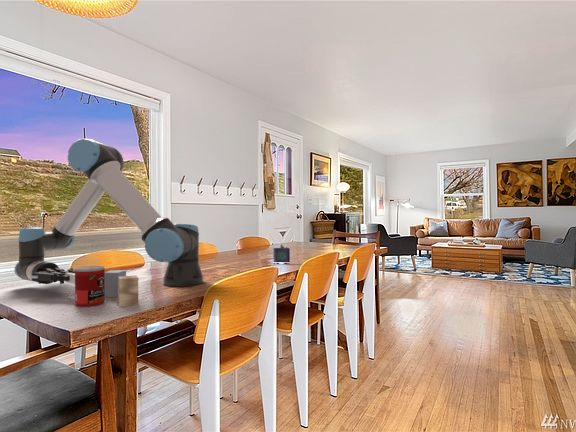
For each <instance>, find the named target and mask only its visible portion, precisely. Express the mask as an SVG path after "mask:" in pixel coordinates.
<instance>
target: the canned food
mask: <svg viewBox="0 0 576 432" xmlns="http://www.w3.org/2000/svg"><path fill="white" fill-rule="evenodd" d="M74 270H75V284H74V303H75V306H77V307H82V308H85V307H86V308H89V307H96V306H100V305H102V304H104V302H105V298H106V297H105V272H106V271H105V266H103V265H86V266H85V265H84V266H79V267H76V268H75V269H74Z"/></svg>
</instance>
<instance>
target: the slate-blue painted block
mask: <svg viewBox="0 0 576 432" xmlns="http://www.w3.org/2000/svg"><path fill="white" fill-rule="evenodd" d="M121 276H127V270H125V269H124V270H123V269H121V270H119V269H117V270H116V269H115V270H114V269H112V270H111V269H110V270H108V271H105V298H118V277H121Z"/></svg>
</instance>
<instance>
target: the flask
mask: <svg viewBox="0 0 576 432" xmlns="http://www.w3.org/2000/svg"><path fill="white" fill-rule="evenodd" d="M272 251H273V253H272V255H273V256H272V257H273V258H272V263H273V262H290V261H291V257H290V256H291V255H290V251H291V249H290V247H288V246H284V245H283V244H280V245H279V247H272ZM290 263H291V262H290Z"/></svg>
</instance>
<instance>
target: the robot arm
mask: <svg viewBox="0 0 576 432" xmlns="http://www.w3.org/2000/svg"><path fill="white" fill-rule="evenodd" d="M67 154H68V155H67V162H68V164H69V166H70V167H71V168H72V169H74V170H75V171H77V172H80V173H83V174H84V175H85V176H86V177H87V181H86V182H85V183H84V184H83V186H82V188H81V189H80V190H79V192H78V193H77V194H76V196H75V198H74V199H73V201H71V203H70V204H69V205H68V207H67V208H66V210H65V212H64V213H63V214H62V216H61V217H60V218H59V220H58V221H57V222H56V224H55V225H54V226H53V228H52V230H51V231H45V228H43V227H22V228H20V229H19V233H18V261H17V262H16V264H15V266H14V273H15V275H16V276H17V277H18V278H20V279H21V280H24V281H29V282H30V281H31V282H35V283H37V284H39V285H41V284H43V285H49V284H53V283H57V282H59V284H60V285H61V284H65V282H66V283H70V284H74V285H75V269H74V268H73V267H70V268H67V270H65V269H63V268H61V267H59V265H58V264H56V263H55V262H50V261H45V252H51V251H59V250H65V249H69V248H71V247H72V246H73V245H74V244H75V236H74V235H75V234H76V233H77V231H78V230H79V229H80V228H81V226H82V224H83V223H84V222H85V220H86V219H87V218H88V216H89V214H91V212H92V210H93V209H94V208H95V207H96V205H97V204H98V202H99V201H100V200H101V198H102V197H103V195H104V194H105V193H107V195H108V196H109V197H110V198H111V199H112V200H113V202H114V203H115V204H116V205H117V206H118V207H119V208H120V209H121V211H122V212H123V213H124V214H125V215H126V216H127V218H128V219H129V220H130V221H131V222H132V223H133V224H134V225H135V227H136V228H137V229H138V230H139V232H140V233H141V235H140V240H141V241H143V243H144V250H145V252H146V254H147V255H148V256H149V258H151V259H152V260H154V261H156V262H159V263H167V266H166V269H165V273H164V275H163V279H162V280H163V281H162V284H163V285H164V286H166V287H167V286H168V287H189V286H196V285H200V284H202V283H203V282H204V276H203V271H202V269H201V266H200V262H199V259H200V258H199V254H200V253H199V246H200V241H199V239H200V237H199V236H200V233H199V227H198V226H197V225H195V224H192V223H191V224H188V223H173V221H171V220H170V218H169V217H162V216H161V214H159V212H158V211H157V210H156V209H155V208H154V207H153V205H152V204H151V203H150V202H149V201H148V200H147V199H146V198H145V197H144V196H143V194H142V193H141V192H140V191H139V189H138V188H136V186H135V185H134V184H133V183H132V182H131V181H130V180H129V178H128V177H127V176H126V175H125V174H124V173H123V170H124V166H125V165H124V164H125V162H124V157H123V155H122V153H121V152H120V151H119V150H118V149H117V148H115V147H113V146H111V145H107V144H104V143H101V142H99V141H96V140H94V139H90V138H80V139H77V140H75V141H74V142H73V143H72V144H71V145H70V147H69V149H68V152H67Z"/></svg>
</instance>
